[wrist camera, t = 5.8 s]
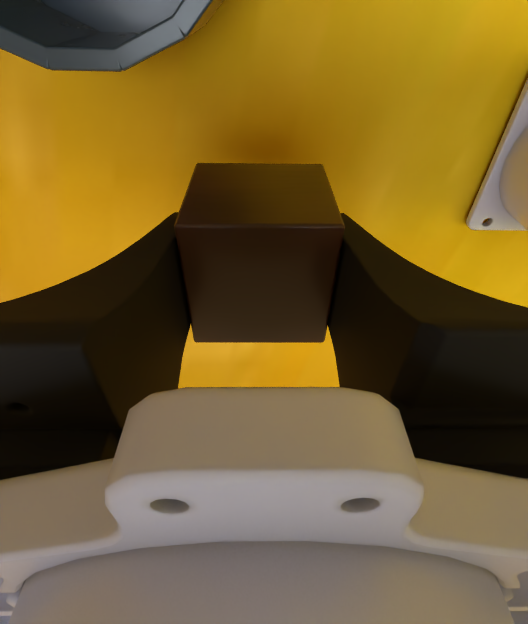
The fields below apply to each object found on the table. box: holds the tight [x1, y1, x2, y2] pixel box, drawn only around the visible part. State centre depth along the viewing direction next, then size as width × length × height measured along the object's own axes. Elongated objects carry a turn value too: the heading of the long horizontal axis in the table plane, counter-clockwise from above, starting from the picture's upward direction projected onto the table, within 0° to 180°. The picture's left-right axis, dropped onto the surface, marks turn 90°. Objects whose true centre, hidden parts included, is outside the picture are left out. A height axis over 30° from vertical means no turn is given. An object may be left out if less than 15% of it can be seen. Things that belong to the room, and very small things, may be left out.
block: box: [174, 163, 345, 342], centre depth 11 cm, size 4×4×4 cm
